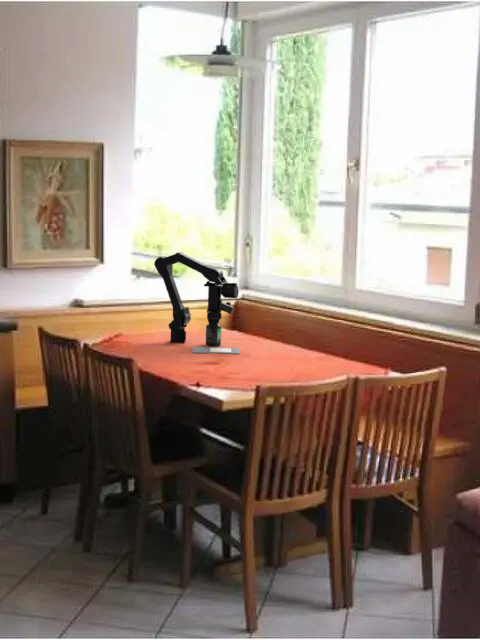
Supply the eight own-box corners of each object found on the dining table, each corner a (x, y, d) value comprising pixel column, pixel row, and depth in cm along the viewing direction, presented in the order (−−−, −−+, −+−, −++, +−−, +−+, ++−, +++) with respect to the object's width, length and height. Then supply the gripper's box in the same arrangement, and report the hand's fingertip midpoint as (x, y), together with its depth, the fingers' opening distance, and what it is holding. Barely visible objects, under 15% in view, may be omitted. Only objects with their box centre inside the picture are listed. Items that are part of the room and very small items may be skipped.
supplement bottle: (222, 346, 420) (223, 319, 418) (207, 346, 418) (208, 319, 416) (218, 343, 426) (219, 317, 424) (203, 343, 424) (204, 317, 422)
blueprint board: (192, 353, 401) (192, 351, 401) (192, 347, 413) (192, 346, 413) (239, 354, 402) (239, 353, 401) (238, 348, 414) (238, 347, 414)
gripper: (233, 300, 410) (232, 335, 412) (232, 294, 428) (230, 329, 431) (207, 299, 409) (206, 335, 412) (207, 294, 428) (206, 328, 430)
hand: (213, 331), depth 421 cm, fingers closed on supplement bottle, 7 cm apart
